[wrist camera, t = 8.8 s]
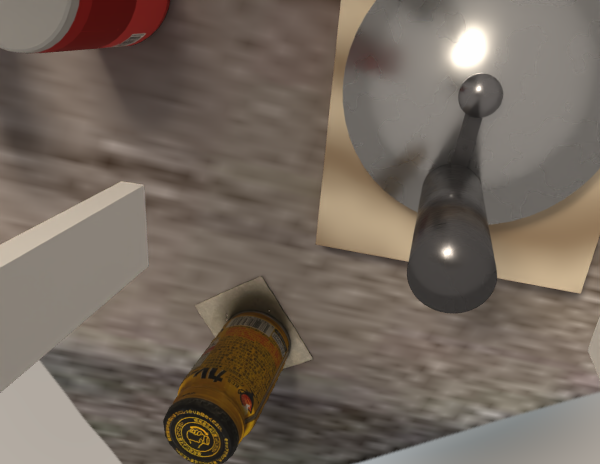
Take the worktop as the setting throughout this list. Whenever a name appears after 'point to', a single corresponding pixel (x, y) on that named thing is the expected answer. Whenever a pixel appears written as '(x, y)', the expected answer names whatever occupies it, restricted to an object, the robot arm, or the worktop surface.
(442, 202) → the dial
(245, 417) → the condiment
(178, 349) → the worktop surface
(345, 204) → the dial board
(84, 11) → the canned food
